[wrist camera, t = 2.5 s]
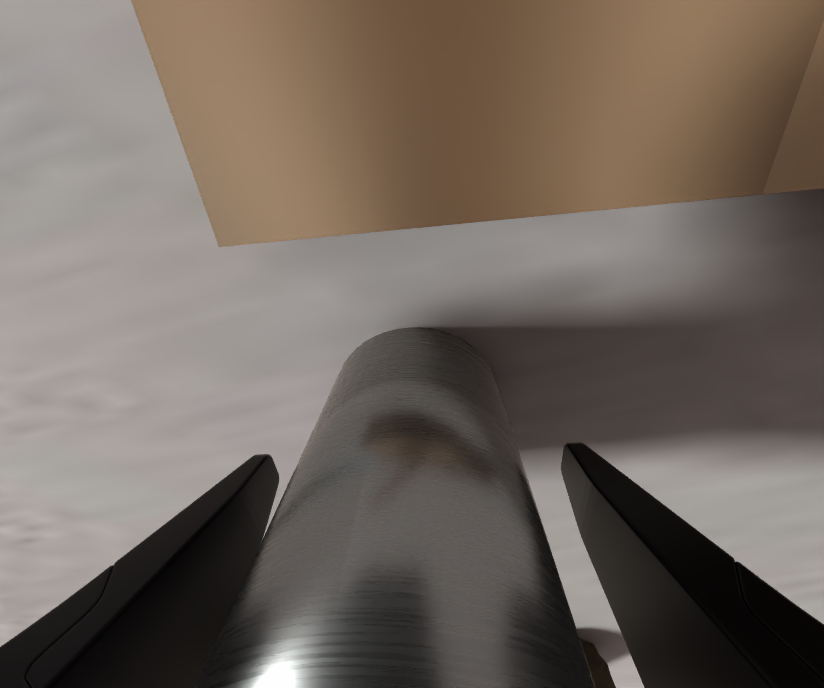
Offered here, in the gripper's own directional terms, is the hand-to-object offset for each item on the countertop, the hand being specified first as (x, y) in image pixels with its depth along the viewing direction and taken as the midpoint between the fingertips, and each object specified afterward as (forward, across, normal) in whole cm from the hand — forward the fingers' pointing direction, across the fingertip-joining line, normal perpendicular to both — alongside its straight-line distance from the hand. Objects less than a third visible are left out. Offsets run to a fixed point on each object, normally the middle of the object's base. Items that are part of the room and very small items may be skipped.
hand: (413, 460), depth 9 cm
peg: (+3, 0, 0) cm, 3 cm away
